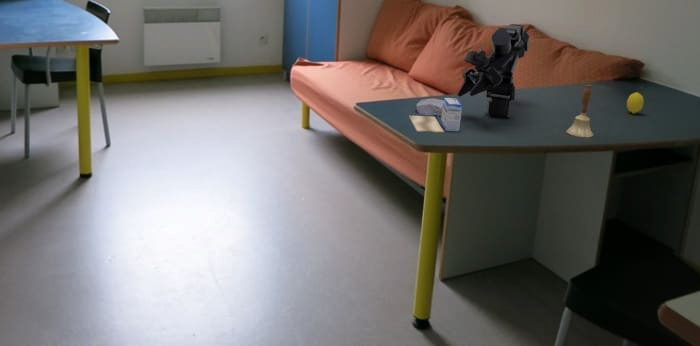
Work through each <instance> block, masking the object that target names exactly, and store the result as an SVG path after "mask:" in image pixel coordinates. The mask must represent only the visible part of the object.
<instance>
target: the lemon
mask: <svg viewBox="0 0 700 346" xmlns="http://www.w3.org/2000/svg"><path fill="white" fill-rule="evenodd" d="M644 102H645V101H644V96H643V95H642V94H640V92H638V91H637V92H633V93H632V94H630V95H629V96H628V99H627V101H626V107H627V109H628V111H629V112H631V114H632V115H634V114H636V113H638V112H640V111H641V110H642V109H643V107H644Z"/></svg>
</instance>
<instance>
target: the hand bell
mask: <svg viewBox="0 0 700 346" xmlns="http://www.w3.org/2000/svg"><path fill="white" fill-rule="evenodd" d="M592 95H593V93H592V85H591V84H586V85H585V88H584V90H583V92H582V99H581V100H582V107H581V111H580V114H579V115H577V116H575V118H574V121H573V122H572V125H571V126H570V127H569V128H568V129H566V131H565V132H566V134H568V135H571V136H573V137H578V138H589V139H590V138H592V137H594V133H593V132H592V131H591V127H590V126H591V124H590V122H591V118H590V117H589V116H587V112H588V106H589V103H590V101H591V98H592Z"/></svg>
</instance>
